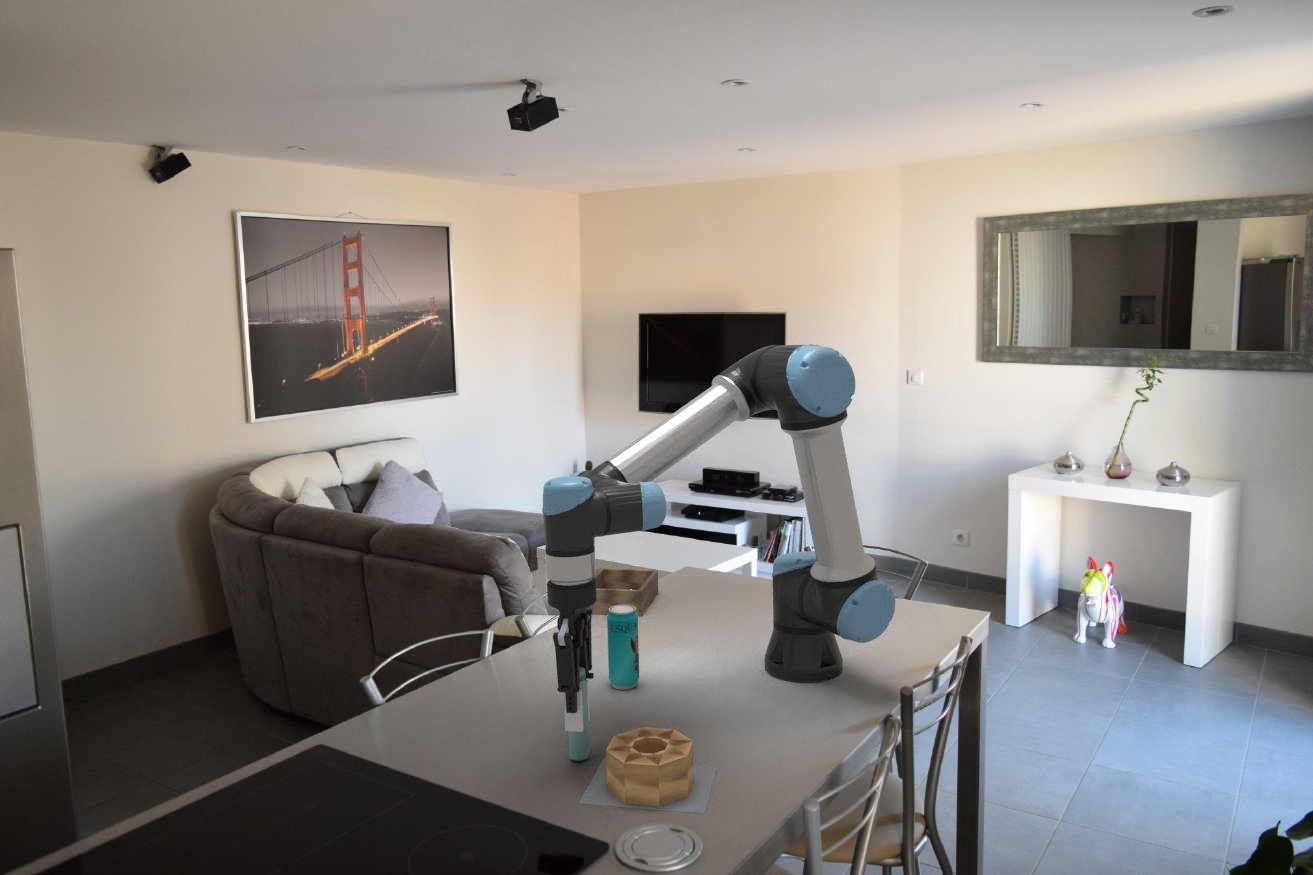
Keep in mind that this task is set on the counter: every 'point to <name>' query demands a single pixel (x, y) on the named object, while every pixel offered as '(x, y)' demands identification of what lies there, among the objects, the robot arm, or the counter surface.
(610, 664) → the beverage can
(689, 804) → the slate mat
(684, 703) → the counter surface
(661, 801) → the wooden bead
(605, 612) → the open wooden box
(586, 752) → the teal capped bottle
